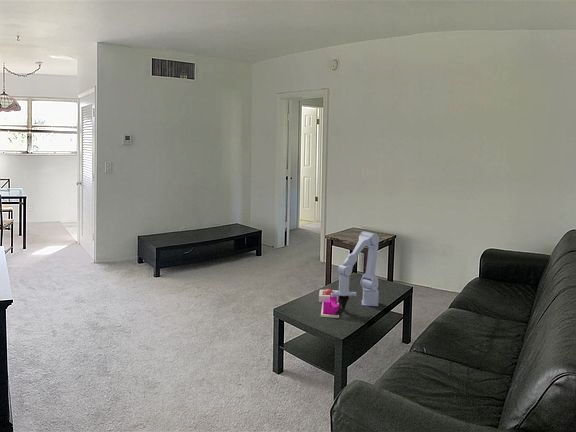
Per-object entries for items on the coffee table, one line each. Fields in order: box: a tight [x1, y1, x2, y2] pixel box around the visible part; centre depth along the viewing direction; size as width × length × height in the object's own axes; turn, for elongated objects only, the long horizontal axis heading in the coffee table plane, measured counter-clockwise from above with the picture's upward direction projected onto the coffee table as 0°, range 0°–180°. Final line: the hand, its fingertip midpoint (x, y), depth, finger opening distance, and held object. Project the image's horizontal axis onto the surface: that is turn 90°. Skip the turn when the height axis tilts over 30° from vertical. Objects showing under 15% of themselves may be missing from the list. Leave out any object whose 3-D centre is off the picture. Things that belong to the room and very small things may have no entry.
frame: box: [320, 302, 340, 319], centre depth 270 cm, size 10×20×1 cm, turn 174°
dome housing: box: [318, 289, 339, 303], centre depth 288 cm, size 12×12×4 cm
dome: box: [323, 288, 334, 295], centre depth 288 cm, size 7×7×6 cm
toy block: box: [323, 294, 340, 315], centre depth 270 cm, size 15×6×8 cm, turn 158°
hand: (343, 308), depth 268 cm, fingers closed
